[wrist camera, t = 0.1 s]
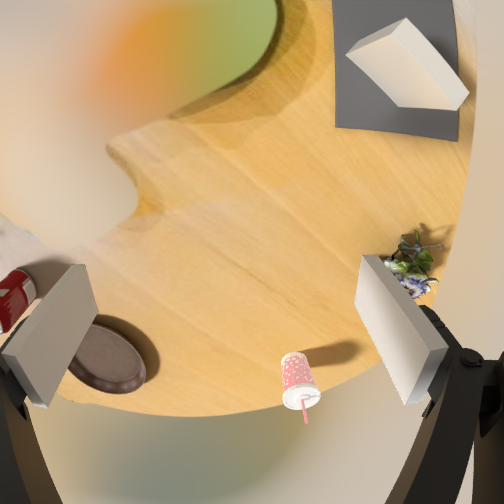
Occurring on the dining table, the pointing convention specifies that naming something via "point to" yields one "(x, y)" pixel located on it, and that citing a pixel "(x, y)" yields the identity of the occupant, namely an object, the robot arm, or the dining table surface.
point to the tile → (408, 68)
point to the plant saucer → (108, 362)
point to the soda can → (15, 298)
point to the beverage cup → (298, 383)
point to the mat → (366, 90)
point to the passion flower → (420, 264)
